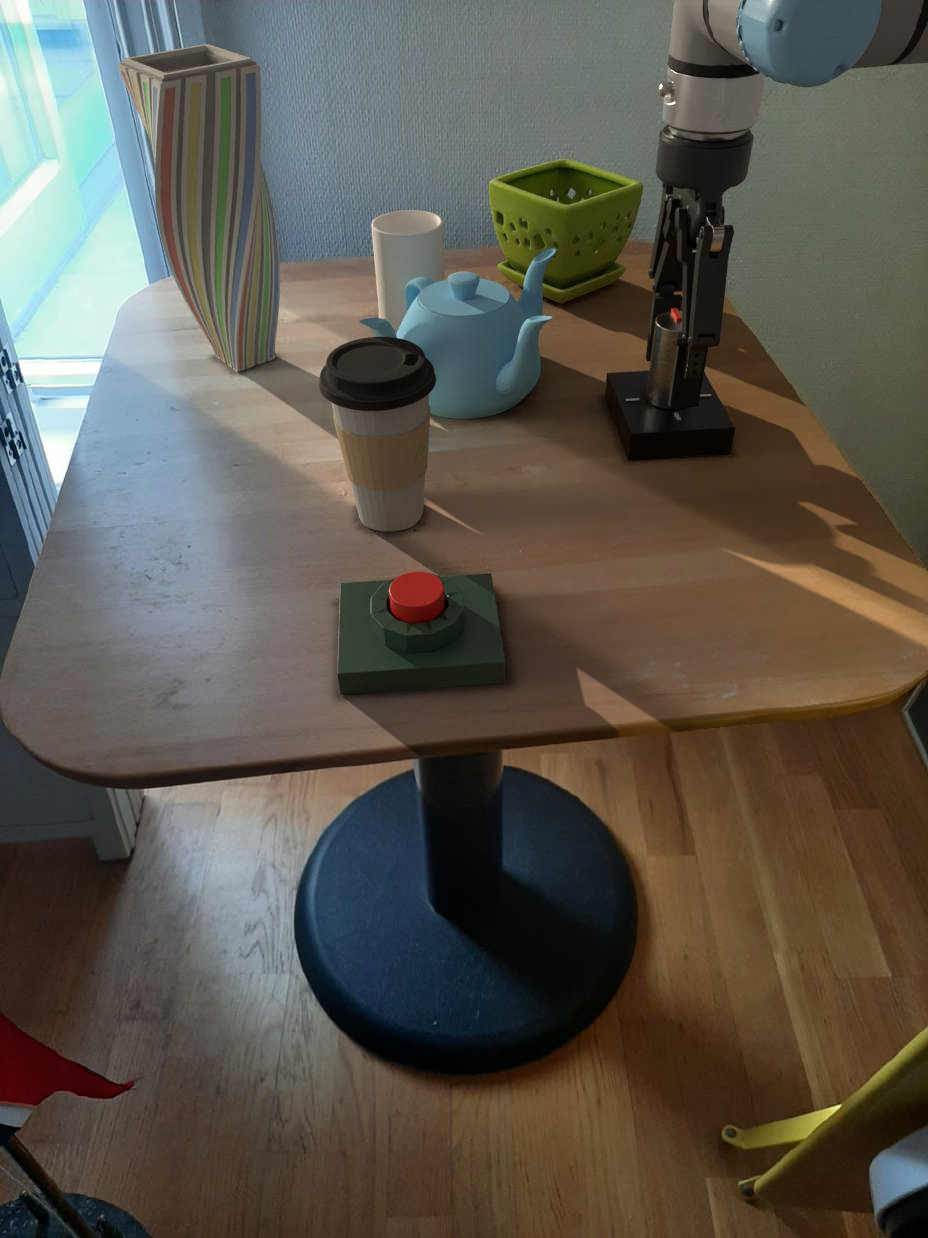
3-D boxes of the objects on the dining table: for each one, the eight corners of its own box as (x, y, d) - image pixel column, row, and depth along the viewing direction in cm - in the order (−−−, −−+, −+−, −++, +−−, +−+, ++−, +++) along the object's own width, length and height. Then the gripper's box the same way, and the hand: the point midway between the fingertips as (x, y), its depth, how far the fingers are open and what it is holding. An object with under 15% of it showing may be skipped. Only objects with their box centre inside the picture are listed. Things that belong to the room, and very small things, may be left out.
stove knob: (696, 408, 90) (709, 326, 84) (651, 410, 89) (662, 329, 84) (684, 385, 93) (697, 306, 87) (641, 388, 93) (651, 309, 87)
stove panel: (730, 454, 89) (736, 425, 87) (628, 460, 89) (631, 432, 86) (697, 393, 98) (702, 365, 96) (604, 398, 97) (606, 371, 95)
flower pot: (560, 316, 112) (566, 208, 104) (484, 282, 120) (483, 179, 111) (637, 283, 119) (648, 179, 110) (560, 253, 127) (565, 154, 118)
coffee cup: (457, 529, 81) (452, 372, 71) (354, 555, 79) (334, 397, 68) (421, 474, 88) (412, 323, 77) (325, 496, 85) (302, 344, 75)
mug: (359, 307, 115) (348, 207, 107) (421, 293, 118) (416, 195, 110) (393, 345, 107) (385, 241, 99) (460, 330, 110) (457, 227, 102)
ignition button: (446, 622, 67) (445, 604, 66) (391, 626, 67) (389, 608, 66) (442, 587, 70) (442, 569, 69) (390, 590, 70) (388, 572, 68)
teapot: (553, 432, 93) (559, 315, 84) (369, 430, 94) (357, 315, 85) (550, 352, 105) (555, 244, 97) (388, 352, 106) (379, 244, 98)
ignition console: (505, 683, 67) (505, 643, 65) (340, 695, 67) (334, 655, 64) (491, 593, 75) (491, 554, 72) (343, 603, 74) (337, 565, 71)
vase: (221, 399, 99) (150, 84, 79) (165, 355, 107) (88, 58, 86) (327, 359, 105) (287, 58, 85) (267, 321, 113) (217, 36, 93)
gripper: (633, 95, 82) (611, 334, 98) (696, 171, 67) (658, 442, 82) (716, 91, 83) (681, 330, 98) (798, 166, 67) (741, 437, 82)
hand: (670, 381), depth 90 cm, fingers open, 9 cm apart
